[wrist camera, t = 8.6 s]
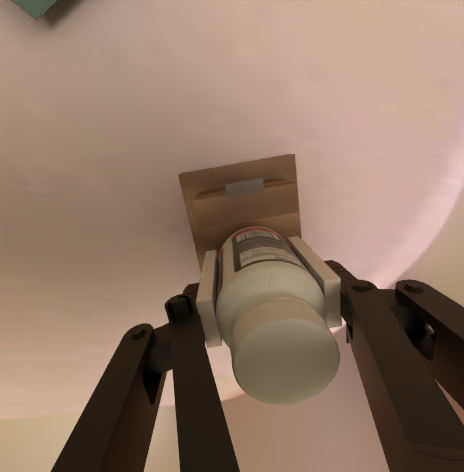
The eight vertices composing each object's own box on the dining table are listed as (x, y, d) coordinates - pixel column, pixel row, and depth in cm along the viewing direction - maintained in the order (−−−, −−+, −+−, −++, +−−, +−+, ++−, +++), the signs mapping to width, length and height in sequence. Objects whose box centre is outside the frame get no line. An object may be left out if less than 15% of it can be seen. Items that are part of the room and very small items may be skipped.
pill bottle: (261, 300, 19) (296, 436, 9) (205, 267, 18) (183, 384, 8) (303, 249, 17) (392, 347, 8) (245, 210, 16) (271, 272, 7)
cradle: (181, 173, 21) (160, 179, 14) (290, 154, 21) (323, 150, 14) (211, 305, 25) (206, 356, 18) (302, 290, 25) (331, 336, 18)
